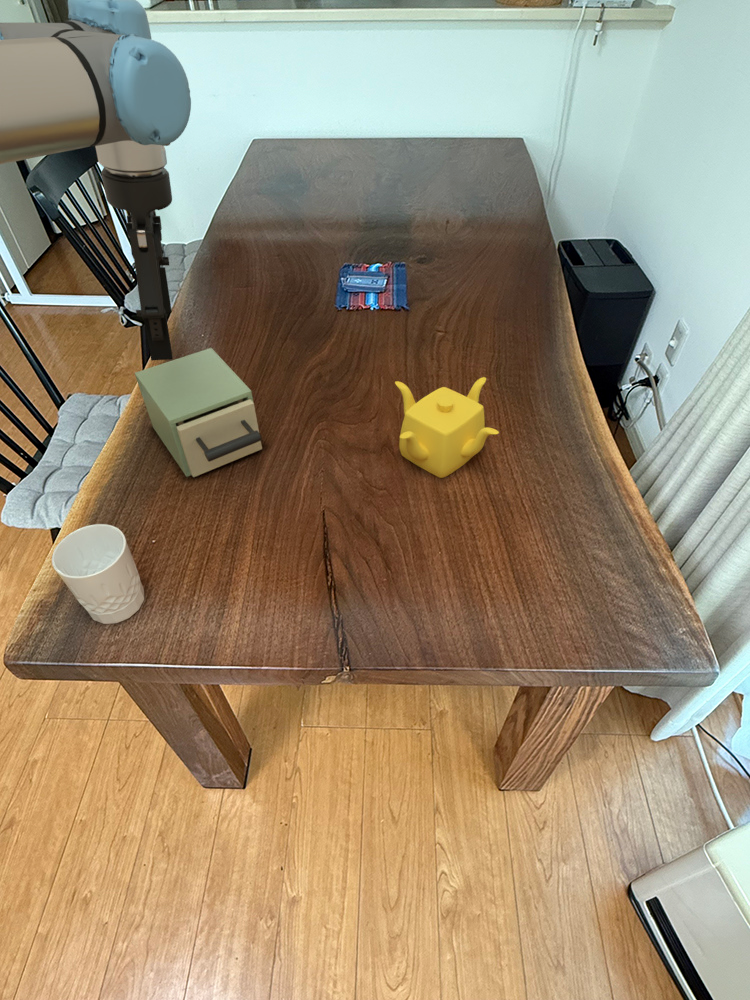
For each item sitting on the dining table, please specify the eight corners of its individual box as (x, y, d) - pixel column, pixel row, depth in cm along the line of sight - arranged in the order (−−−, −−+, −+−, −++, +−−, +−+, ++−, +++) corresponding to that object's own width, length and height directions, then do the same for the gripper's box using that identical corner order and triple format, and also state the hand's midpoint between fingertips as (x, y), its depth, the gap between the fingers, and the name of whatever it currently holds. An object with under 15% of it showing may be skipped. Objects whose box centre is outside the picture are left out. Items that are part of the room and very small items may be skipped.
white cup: (69, 616, 73) (35, 565, 65) (112, 568, 78) (85, 516, 71) (122, 637, 70) (93, 586, 63) (162, 587, 76) (140, 534, 68)
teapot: (398, 484, 88) (400, 432, 82) (391, 425, 98) (392, 375, 92) (495, 480, 89) (505, 428, 82) (479, 421, 99) (486, 371, 92)
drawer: (277, 466, 90) (269, 420, 84) (206, 497, 86) (193, 450, 79) (226, 406, 101) (216, 361, 95) (161, 430, 96) (145, 384, 90)
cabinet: (261, 446, 95) (251, 390, 87) (186, 477, 90) (168, 421, 82) (223, 401, 103) (211, 347, 96) (153, 427, 98) (134, 372, 91)
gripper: (169, 203, 62) (192, 379, 76) (167, 141, 79) (187, 294, 94) (91, 202, 60) (130, 383, 75) (107, 138, 78) (136, 295, 92)
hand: (162, 334), depth 84 cm, fingers open, 13 cm apart
